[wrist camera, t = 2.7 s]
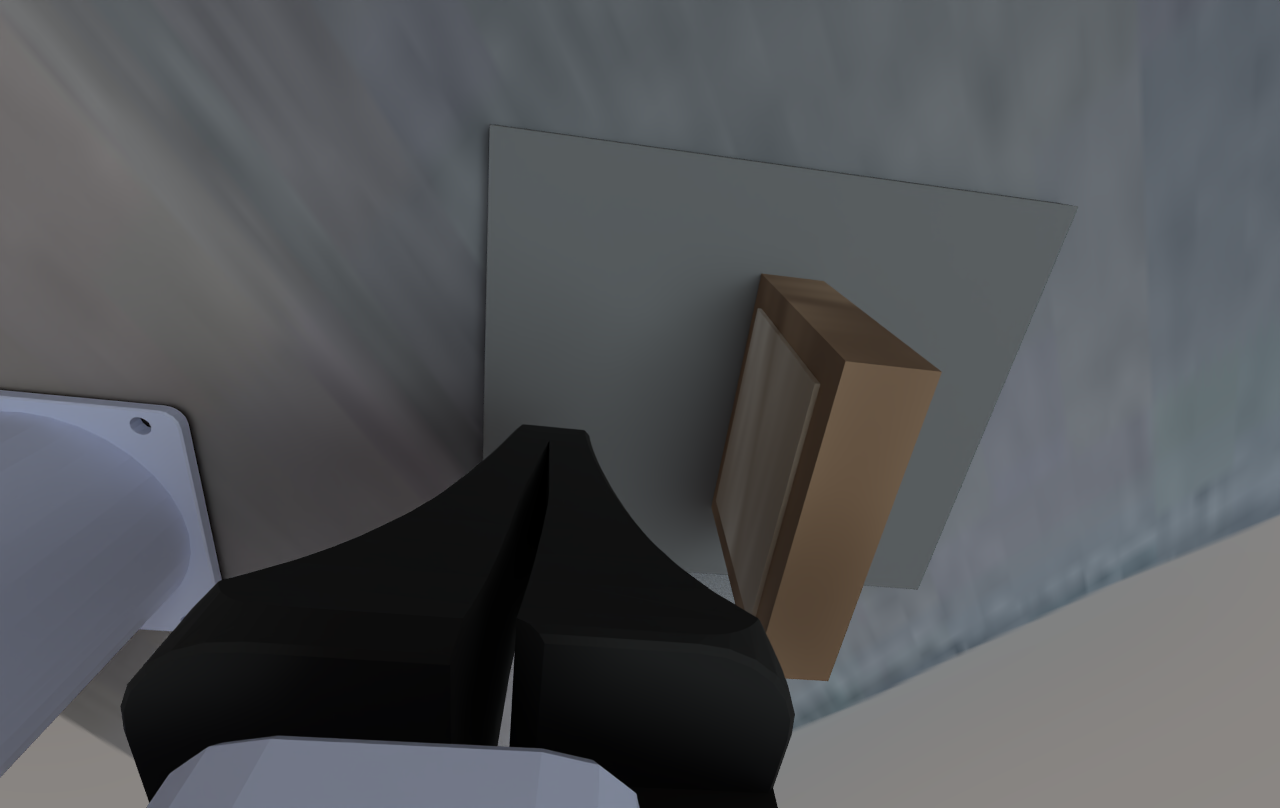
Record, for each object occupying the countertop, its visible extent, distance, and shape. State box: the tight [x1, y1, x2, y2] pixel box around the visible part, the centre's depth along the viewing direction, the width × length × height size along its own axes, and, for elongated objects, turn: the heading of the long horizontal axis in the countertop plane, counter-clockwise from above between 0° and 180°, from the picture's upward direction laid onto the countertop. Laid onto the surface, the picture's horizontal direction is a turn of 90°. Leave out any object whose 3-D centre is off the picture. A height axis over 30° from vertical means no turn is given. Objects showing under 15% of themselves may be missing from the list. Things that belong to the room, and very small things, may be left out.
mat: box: [483, 125, 1078, 590], centre depth 17 cm, size 14×12×1 cm
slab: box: [711, 273, 942, 681], centre depth 14 cm, size 2×7×6 cm, turn 173°
